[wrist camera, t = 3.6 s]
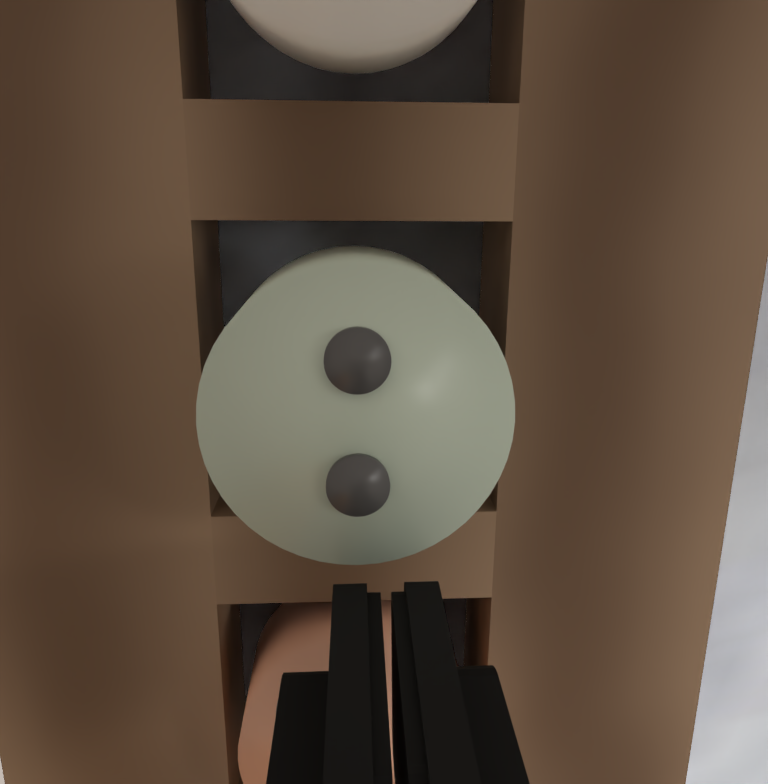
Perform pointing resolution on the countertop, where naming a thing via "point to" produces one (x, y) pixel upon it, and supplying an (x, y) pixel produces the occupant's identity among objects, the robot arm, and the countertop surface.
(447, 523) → the two pip button
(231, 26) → the countertop surface
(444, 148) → the button panel
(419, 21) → the one pip button
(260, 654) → the three pip button
